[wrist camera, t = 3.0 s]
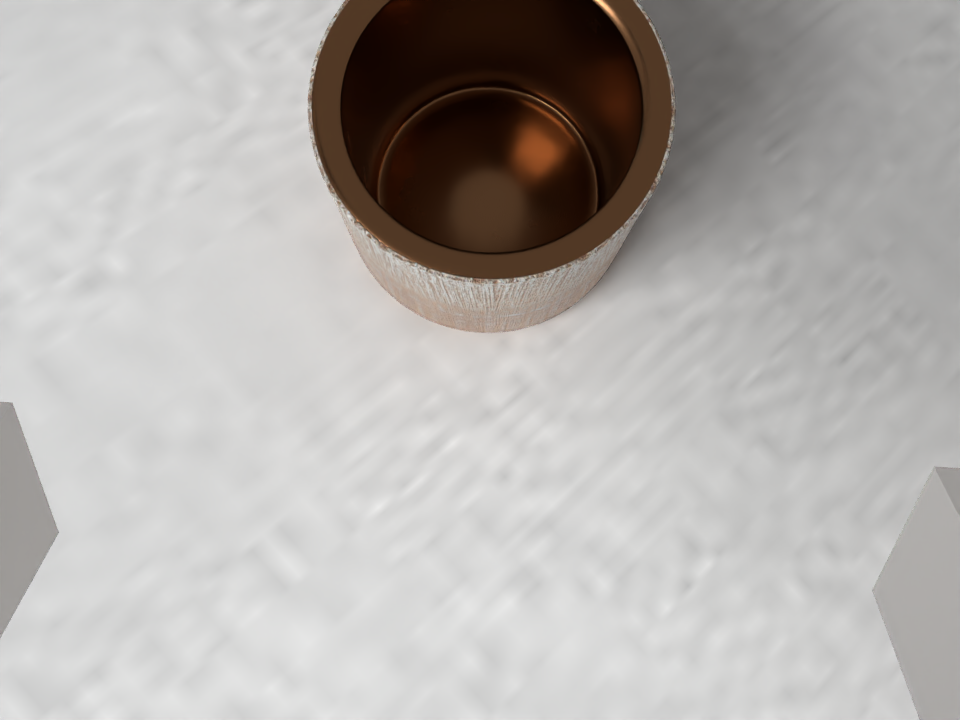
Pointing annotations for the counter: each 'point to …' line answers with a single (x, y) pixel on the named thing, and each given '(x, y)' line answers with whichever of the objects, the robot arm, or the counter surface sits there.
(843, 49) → the counter surface
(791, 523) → the counter surface
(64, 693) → the counter surface
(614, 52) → the planter
